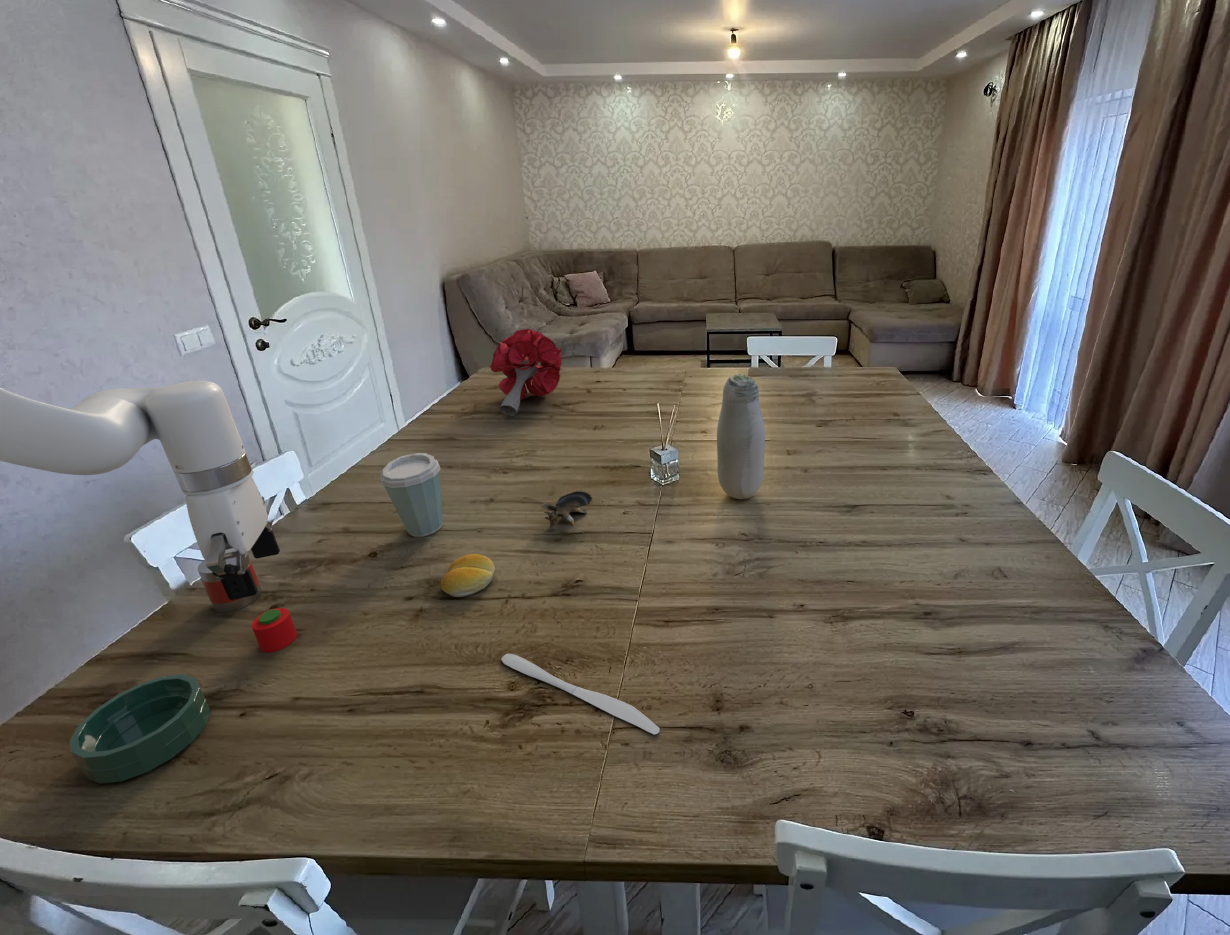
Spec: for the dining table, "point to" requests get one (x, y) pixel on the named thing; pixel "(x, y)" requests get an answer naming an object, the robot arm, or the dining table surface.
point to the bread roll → (468, 575)
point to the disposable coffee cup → (415, 492)
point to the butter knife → (584, 694)
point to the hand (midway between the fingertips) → (256, 574)
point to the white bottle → (740, 438)
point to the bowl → (140, 728)
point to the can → (217, 589)
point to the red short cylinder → (274, 629)
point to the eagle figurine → (567, 506)
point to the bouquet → (526, 367)
